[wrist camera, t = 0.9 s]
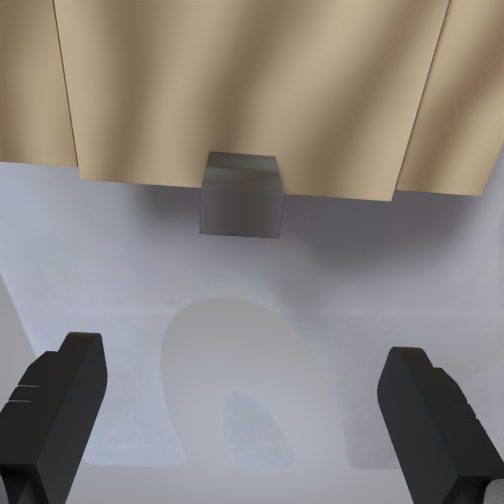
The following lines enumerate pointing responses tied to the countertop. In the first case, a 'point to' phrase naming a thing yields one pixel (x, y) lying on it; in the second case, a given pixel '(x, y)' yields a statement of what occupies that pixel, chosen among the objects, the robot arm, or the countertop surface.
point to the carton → (421, 138)
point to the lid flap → (247, 97)
